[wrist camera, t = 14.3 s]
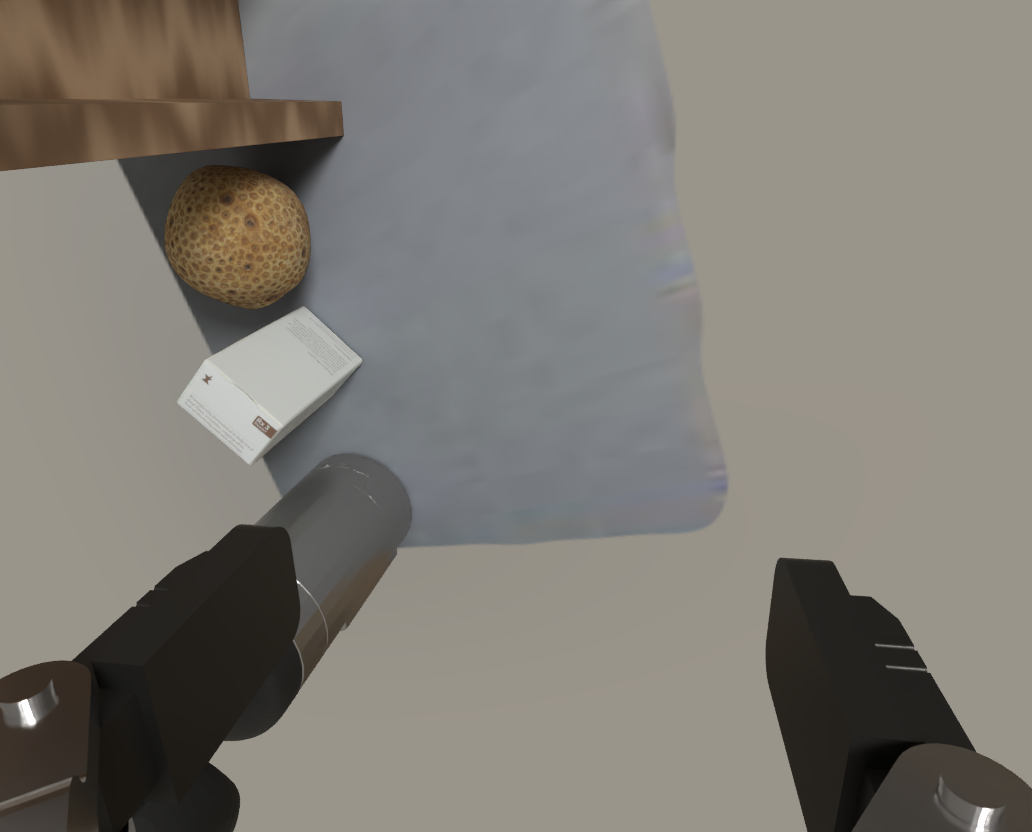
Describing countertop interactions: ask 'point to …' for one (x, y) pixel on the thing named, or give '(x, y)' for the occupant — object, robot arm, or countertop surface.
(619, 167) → the countertop surface
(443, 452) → the countertop surface
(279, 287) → the natural sponge
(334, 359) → the skincare box
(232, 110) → the stand
